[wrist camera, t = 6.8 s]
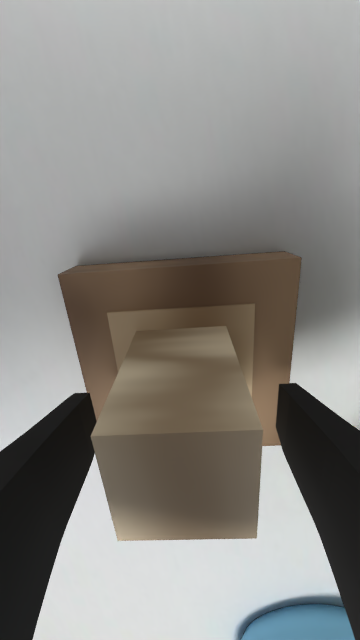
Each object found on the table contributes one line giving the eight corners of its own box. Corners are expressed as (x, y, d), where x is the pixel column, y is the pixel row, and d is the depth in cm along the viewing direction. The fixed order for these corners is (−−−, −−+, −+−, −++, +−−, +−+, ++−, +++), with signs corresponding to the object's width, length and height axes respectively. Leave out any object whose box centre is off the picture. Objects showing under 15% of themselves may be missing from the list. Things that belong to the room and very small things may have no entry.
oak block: (146, 403, 13) (117, 540, 8) (136, 331, 12) (90, 436, 6) (226, 399, 13) (256, 538, 7) (226, 325, 12) (263, 429, 6)
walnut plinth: (111, 424, 16) (101, 453, 15) (76, 266, 13) (56, 275, 11) (272, 418, 16) (283, 446, 14) (284, 251, 12) (302, 258, 10)
